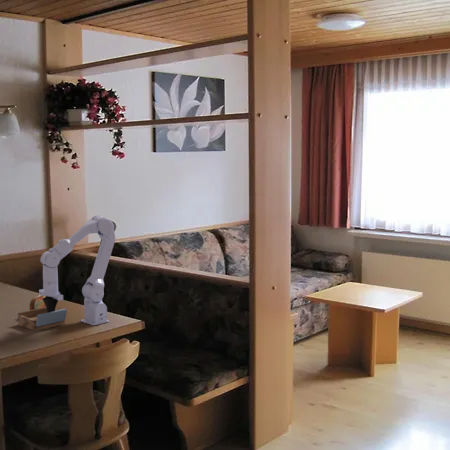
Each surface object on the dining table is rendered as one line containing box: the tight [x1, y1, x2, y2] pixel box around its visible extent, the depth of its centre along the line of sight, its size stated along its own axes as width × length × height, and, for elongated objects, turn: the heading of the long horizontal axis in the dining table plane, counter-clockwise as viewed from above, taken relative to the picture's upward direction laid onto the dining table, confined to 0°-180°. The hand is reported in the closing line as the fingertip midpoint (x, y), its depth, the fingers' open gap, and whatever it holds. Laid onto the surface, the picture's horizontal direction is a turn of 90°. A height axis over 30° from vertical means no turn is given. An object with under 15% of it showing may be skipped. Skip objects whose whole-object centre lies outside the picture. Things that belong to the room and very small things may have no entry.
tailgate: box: [36, 308, 68, 327], centre depth 250 cm, size 1×13×5 cm, turn 138°
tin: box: [29, 294, 46, 311], centre depth 270 cm, size 15×3×8 cm, turn 168°
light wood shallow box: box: [17, 307, 66, 332], centre depth 255 cm, size 12×14×5 cm
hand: (51, 314), depth 250 cm, fingers closed, pressing on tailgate
